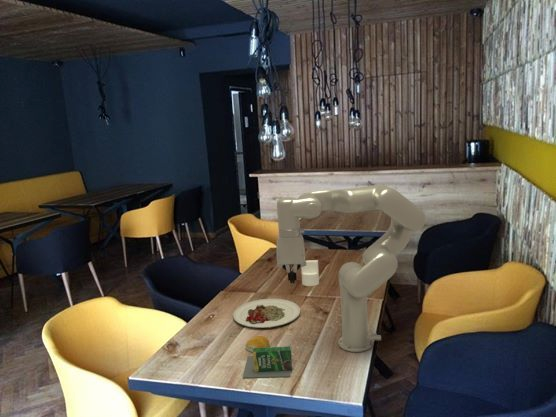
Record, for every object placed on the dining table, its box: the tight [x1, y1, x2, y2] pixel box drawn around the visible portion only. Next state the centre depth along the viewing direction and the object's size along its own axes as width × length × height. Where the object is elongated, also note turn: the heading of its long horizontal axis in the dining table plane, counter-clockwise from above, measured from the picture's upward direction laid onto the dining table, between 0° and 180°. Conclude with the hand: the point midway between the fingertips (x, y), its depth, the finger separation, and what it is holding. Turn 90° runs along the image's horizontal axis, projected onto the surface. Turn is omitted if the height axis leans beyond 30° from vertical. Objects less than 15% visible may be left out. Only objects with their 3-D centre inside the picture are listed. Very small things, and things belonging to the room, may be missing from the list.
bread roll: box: [245, 335, 270, 353], centre depth 169 cm, size 8×9×4 cm
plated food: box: [232, 298, 301, 329], centre depth 197 cm, size 30×30×3 cm
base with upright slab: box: [300, 259, 320, 287], centre depth 232 cm, size 9×9×12 cm
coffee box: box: [252, 346, 293, 372], centre depth 151 cm, size 8×3×13 cm
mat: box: [242, 355, 292, 380], centre depth 155 cm, size 16×14×1 cm
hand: (292, 282), depth 159 cm, fingers closed
